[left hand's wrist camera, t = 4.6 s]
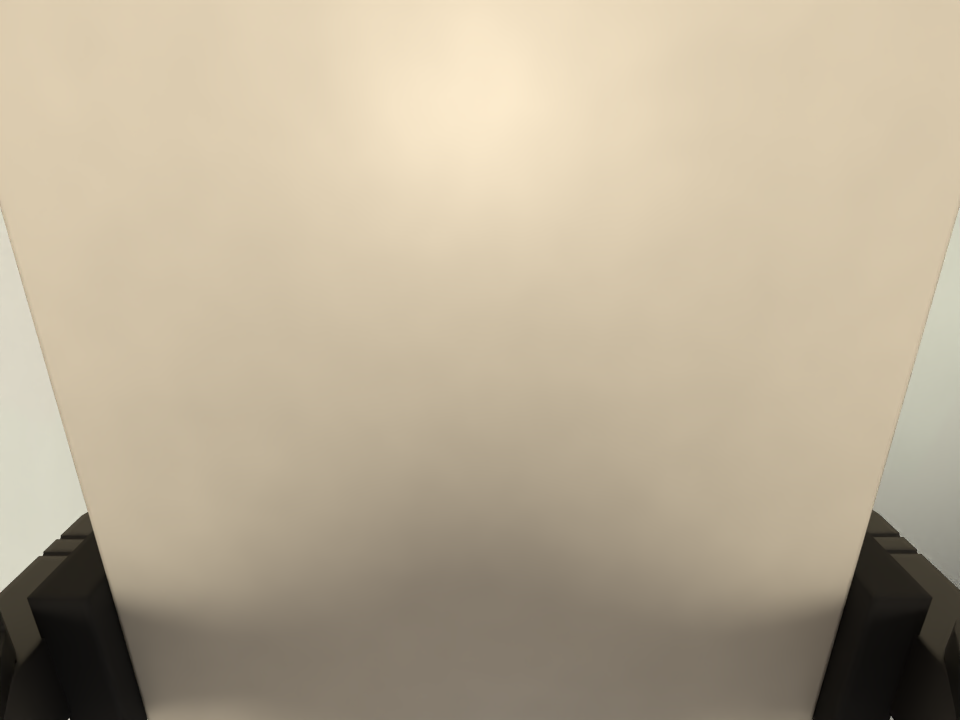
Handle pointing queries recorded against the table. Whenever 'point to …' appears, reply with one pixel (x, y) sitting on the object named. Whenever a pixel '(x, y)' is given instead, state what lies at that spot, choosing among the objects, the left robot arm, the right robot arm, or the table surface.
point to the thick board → (479, 336)
